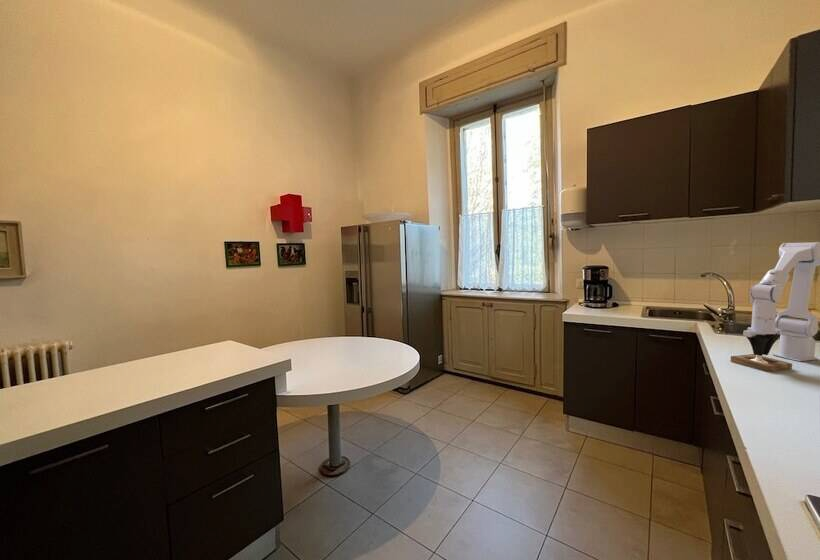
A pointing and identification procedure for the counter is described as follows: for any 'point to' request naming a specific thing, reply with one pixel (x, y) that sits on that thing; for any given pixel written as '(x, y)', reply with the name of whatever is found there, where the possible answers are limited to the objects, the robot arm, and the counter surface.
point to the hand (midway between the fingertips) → (760, 354)
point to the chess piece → (759, 359)
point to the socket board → (769, 367)
